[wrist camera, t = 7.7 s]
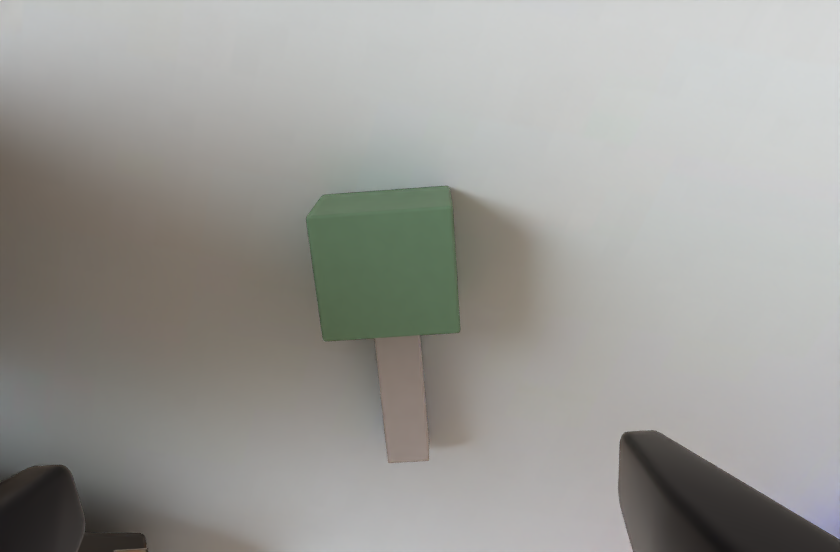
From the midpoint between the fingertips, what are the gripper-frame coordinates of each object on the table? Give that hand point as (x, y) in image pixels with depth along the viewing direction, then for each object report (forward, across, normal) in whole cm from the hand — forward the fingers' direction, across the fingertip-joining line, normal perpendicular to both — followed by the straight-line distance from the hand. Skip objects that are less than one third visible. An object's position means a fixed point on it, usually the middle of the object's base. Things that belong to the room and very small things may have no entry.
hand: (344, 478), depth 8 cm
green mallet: (+10, 0, +2) cm, 10 cm away
